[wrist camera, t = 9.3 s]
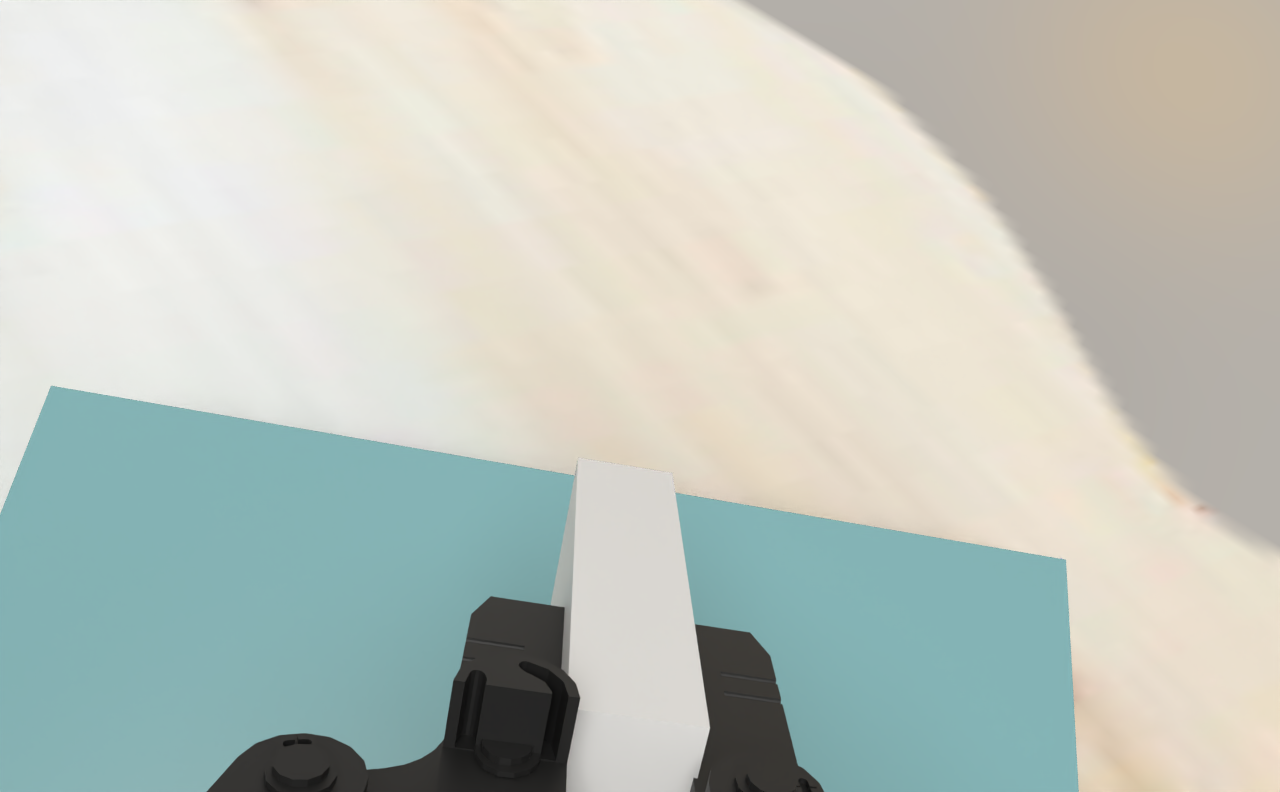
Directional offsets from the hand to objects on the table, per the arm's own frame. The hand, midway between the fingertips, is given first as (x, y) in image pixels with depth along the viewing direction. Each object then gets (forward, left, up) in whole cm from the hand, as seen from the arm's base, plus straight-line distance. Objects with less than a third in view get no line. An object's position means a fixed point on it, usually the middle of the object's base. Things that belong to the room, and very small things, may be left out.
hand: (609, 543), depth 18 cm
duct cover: (0, -1, -11) cm, 11 cm away
